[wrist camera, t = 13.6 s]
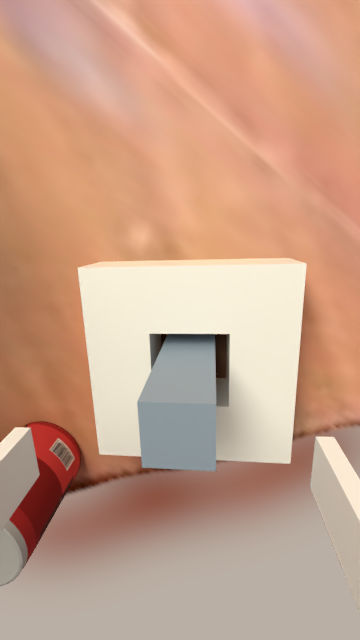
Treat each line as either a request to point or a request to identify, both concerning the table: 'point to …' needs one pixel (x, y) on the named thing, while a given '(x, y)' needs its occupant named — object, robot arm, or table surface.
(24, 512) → the canned food
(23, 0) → the table surface
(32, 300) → the table surface
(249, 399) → the socket block
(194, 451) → the peg
